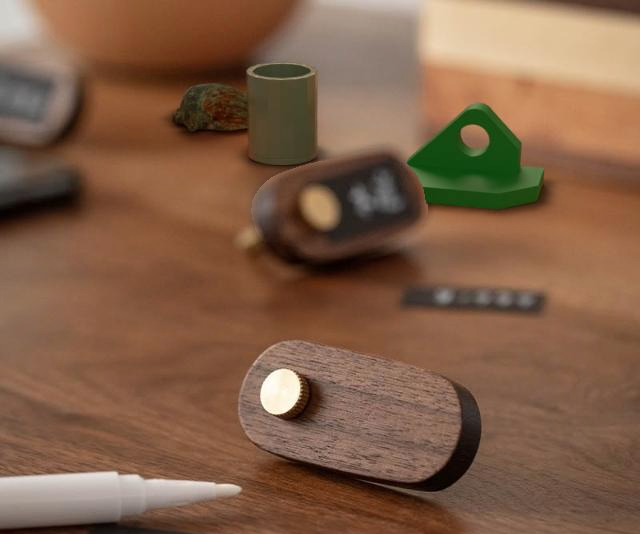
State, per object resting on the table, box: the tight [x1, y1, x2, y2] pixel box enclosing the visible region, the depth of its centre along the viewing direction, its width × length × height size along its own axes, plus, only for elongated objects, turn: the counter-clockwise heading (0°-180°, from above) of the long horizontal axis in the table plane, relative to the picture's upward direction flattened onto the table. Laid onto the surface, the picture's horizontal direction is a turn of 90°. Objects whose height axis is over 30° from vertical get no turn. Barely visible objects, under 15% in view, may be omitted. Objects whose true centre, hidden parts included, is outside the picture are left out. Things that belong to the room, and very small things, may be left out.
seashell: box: [171, 82, 247, 133], centre depth 132 cm, size 10×4×10 cm
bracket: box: [406, 101, 545, 210], centre depth 112 cm, size 12×8×7 cm, turn 75°
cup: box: [245, 61, 319, 166], centre depth 121 cm, size 6×6×8 cm
